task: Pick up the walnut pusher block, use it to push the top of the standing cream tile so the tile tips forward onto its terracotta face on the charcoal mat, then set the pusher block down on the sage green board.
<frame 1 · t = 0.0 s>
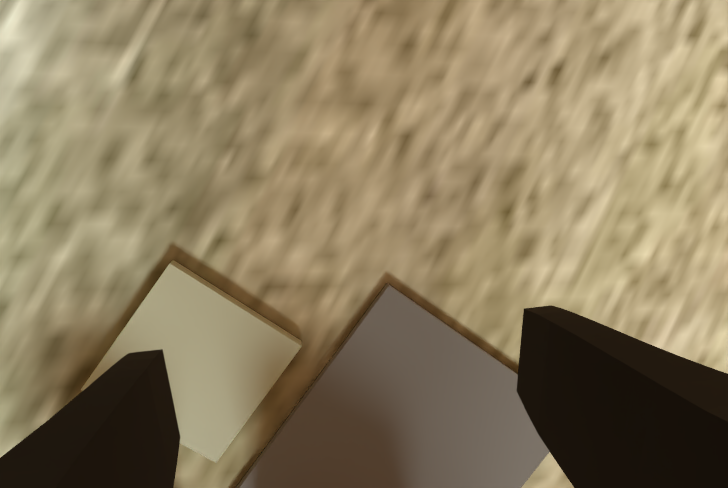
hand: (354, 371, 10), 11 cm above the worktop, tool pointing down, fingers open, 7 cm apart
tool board: (196, 361, 20), on the worktop
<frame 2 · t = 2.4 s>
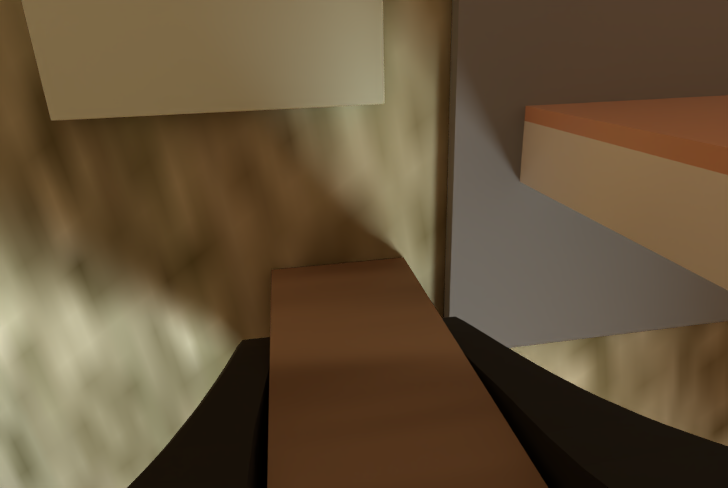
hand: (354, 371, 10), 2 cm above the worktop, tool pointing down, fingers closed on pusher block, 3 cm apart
tile: (691, 133, 11), resting on mat
pusher block: (341, 321, 12), on the worktop, touching gripper
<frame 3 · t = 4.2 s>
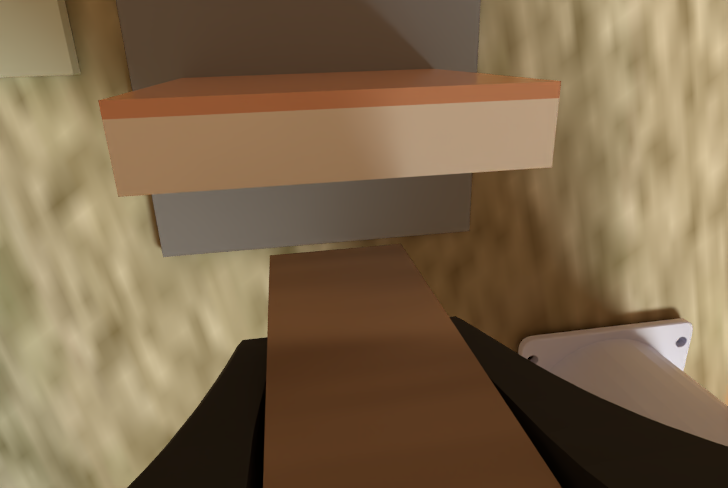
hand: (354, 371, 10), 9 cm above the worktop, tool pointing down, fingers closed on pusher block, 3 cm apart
tile: (314, 99, 16), resting on mat
pusher block: (339, 308, 12), point 7 cm above the worktop, touching gripper
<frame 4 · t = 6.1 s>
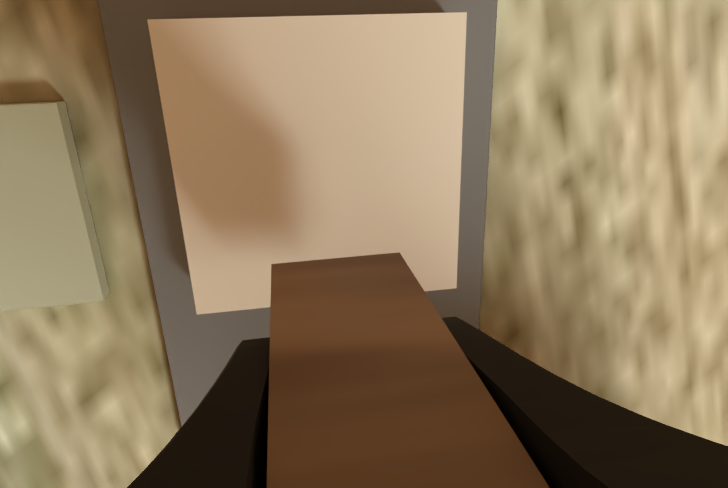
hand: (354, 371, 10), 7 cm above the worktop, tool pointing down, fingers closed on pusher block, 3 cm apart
mat: (321, 217, 17), on the worktop
tile: (328, 289, 16), point 1 cm above the worktop, tilted 90°, touching mat
pusher block: (339, 315, 12), point 5 cm above the worktop, touching gripper
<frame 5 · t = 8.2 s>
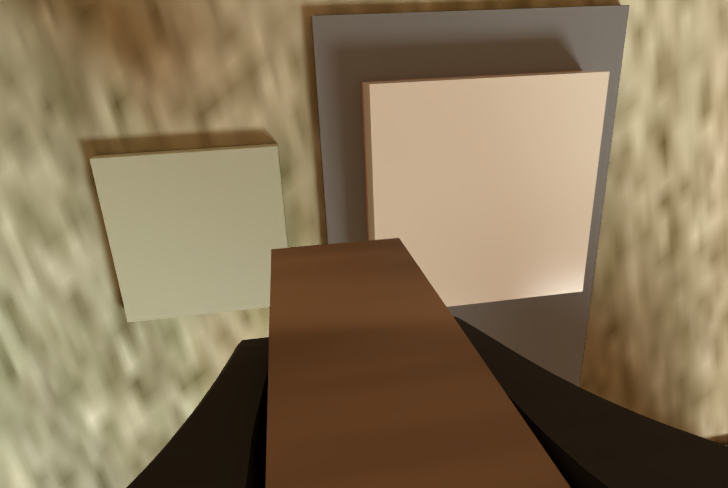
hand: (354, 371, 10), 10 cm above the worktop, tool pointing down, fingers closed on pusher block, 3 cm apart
mat: (466, 233, 20), on the worktop
tile: (475, 293, 20), point 1 cm above the worktop, tilted 90°, touching mat
pusher block: (339, 301, 12), point 7 cm above the worktop, touching gripper
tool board: (202, 232, 18), on the worktop
when the fingers open (3 cm above the worktop, at t = 9.9 s): pusher block stays where it is, resting on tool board.
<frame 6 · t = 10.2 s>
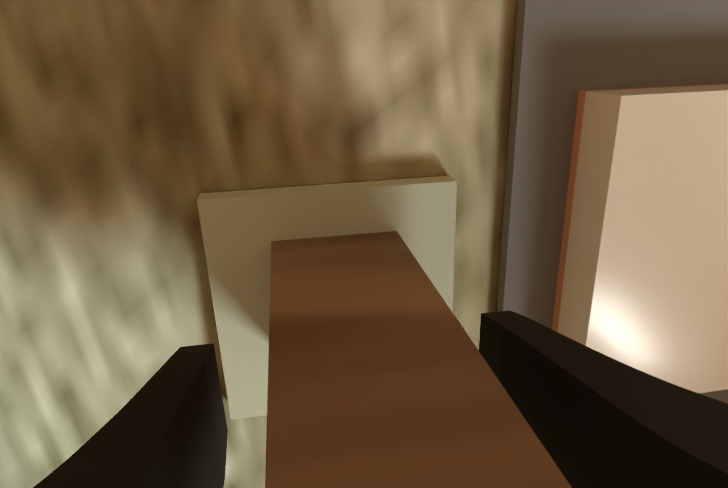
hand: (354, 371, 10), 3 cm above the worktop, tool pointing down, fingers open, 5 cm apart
mat: (672, 291, 15), on the worktop
tile: (689, 374, 15), point 1 cm above the worktop, tilted 90°, touching mat
pusher block: (338, 292, 13), point 1 cm above the worktop, touching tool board
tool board: (335, 295, 13), on the worktop
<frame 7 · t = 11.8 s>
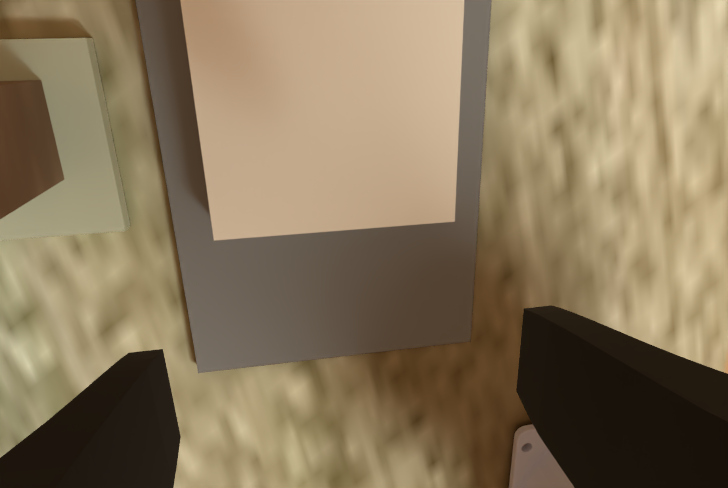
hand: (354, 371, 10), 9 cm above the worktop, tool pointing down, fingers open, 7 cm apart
mat: (329, 156, 18), on the worktop
tile: (335, 223, 17), point 1 cm above the worktop, tilted 90°, touching mat
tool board: (12, 142, 16), on the worktop
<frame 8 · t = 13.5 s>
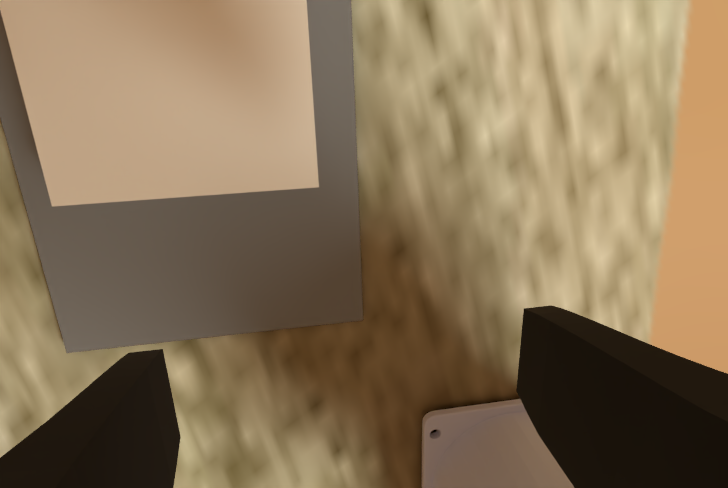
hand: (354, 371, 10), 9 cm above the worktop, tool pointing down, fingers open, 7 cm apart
mat: (189, 120, 17), on the worktop
tile: (194, 190, 16), point 1 cm above the worktop, tilted 90°, touching mat
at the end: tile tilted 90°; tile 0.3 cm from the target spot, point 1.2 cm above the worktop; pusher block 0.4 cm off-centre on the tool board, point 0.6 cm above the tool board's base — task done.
